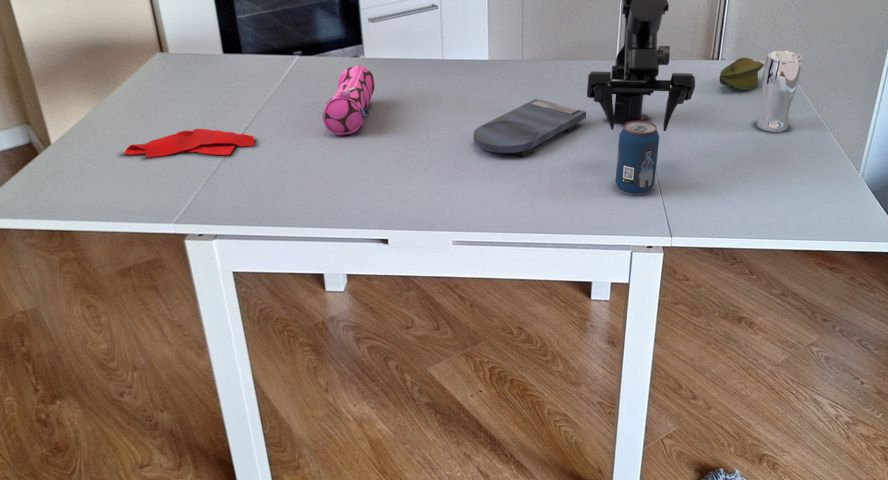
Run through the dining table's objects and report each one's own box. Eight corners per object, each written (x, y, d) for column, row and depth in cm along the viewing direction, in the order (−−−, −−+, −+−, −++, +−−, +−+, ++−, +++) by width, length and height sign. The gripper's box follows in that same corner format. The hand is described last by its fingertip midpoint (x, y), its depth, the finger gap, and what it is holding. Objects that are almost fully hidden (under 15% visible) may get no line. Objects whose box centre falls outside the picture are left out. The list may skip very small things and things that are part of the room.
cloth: (261, 130, 193) (260, 120, 192) (248, 156, 181) (247, 146, 180) (141, 132, 194) (139, 122, 193) (120, 158, 182) (118, 148, 181)
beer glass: (749, 121, 190) (760, 51, 182) (781, 119, 190) (794, 49, 183) (762, 133, 184) (774, 62, 176) (795, 132, 185) (809, 60, 177)
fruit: (771, 94, 204) (776, 65, 200) (718, 95, 204) (722, 67, 200) (756, 77, 213) (761, 50, 210) (705, 78, 214) (709, 51, 210)
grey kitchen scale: (534, 111, 198) (535, 97, 196) (585, 125, 191) (586, 110, 189) (460, 149, 181) (460, 134, 180) (513, 165, 174) (513, 149, 172)
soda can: (625, 177, 168) (630, 116, 162) (659, 186, 165) (666, 124, 158) (608, 190, 163) (613, 128, 157) (643, 200, 160) (650, 137, 154)
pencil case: (370, 137, 188) (367, 91, 183) (324, 138, 188) (319, 92, 183) (379, 101, 206) (376, 58, 201) (337, 102, 207) (333, 59, 201)
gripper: (591, 27, 158) (587, 109, 154) (700, 28, 156) (699, 112, 152) (588, 57, 169) (585, 134, 165) (690, 59, 166) (689, 138, 163)
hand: (638, 129), depth 161 cm, fingers open, 9 cm apart
